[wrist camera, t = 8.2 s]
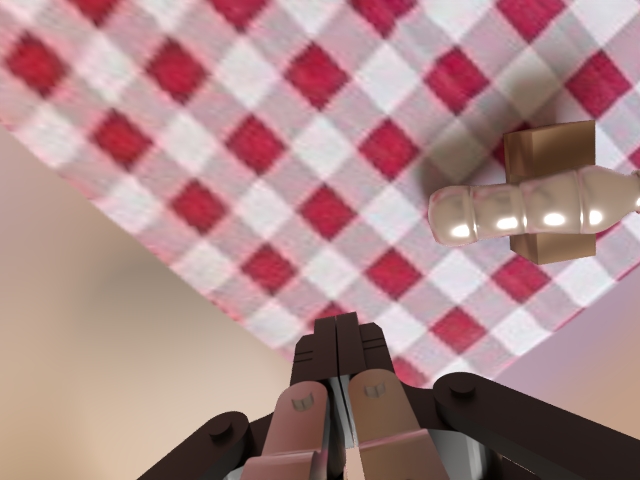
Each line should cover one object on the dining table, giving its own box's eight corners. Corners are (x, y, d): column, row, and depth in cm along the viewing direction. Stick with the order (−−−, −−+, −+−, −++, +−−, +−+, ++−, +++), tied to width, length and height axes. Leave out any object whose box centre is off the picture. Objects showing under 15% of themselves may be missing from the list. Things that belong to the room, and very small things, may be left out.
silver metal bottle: (432, 196, 44) (644, 161, 35) (437, 250, 43) (656, 230, 34) (420, 184, 38) (669, 139, 29) (426, 247, 38) (684, 221, 28)
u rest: (503, 134, 41) (532, 132, 35) (556, 123, 41) (595, 119, 35) (510, 249, 45) (538, 265, 39) (560, 240, 44) (595, 255, 38)
